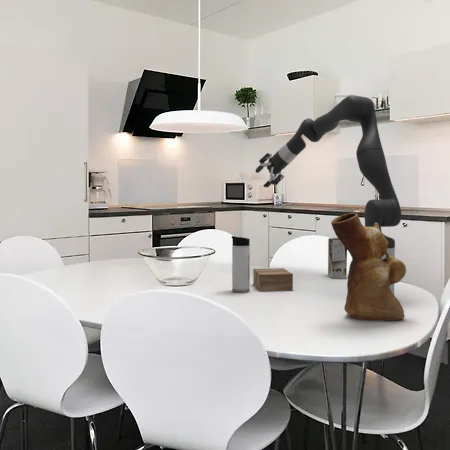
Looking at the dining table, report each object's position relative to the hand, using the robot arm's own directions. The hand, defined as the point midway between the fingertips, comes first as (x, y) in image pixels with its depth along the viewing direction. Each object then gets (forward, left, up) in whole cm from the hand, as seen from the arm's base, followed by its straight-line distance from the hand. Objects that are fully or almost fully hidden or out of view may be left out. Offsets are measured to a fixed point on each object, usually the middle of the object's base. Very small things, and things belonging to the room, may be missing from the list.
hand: (260, 179), depth 235 cm
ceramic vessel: (-92, -13, -42) cm, 102 cm away
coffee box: (-24, -28, -42) cm, 56 cm away
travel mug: (-50, +17, -42) cm, 67 cm away
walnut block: (-44, +4, -41) cm, 61 cm away
